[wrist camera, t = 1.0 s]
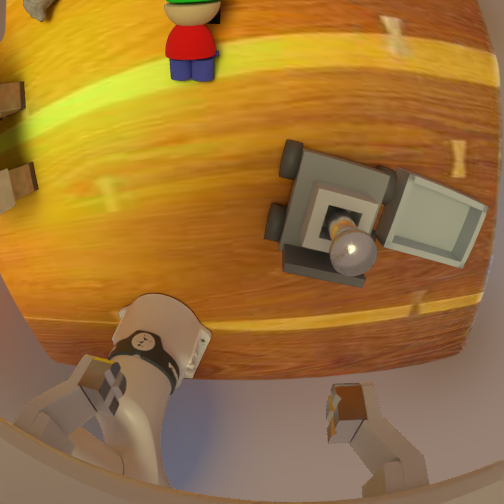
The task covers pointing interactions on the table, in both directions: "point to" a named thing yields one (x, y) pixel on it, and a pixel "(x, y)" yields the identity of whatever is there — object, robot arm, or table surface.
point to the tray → (430, 220)
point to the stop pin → (348, 244)
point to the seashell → (37, 8)
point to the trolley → (324, 208)
